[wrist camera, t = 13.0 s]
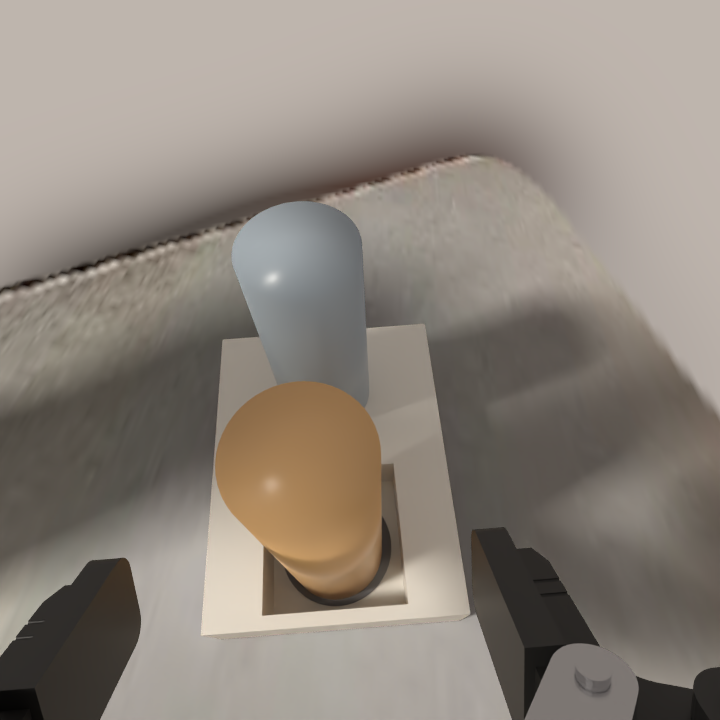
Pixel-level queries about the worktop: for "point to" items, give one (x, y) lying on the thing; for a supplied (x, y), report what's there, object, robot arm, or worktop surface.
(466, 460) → the worktop surface
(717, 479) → the worktop surface
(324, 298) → the housing
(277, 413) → the tan round-top capsule
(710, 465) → the worktop surface
